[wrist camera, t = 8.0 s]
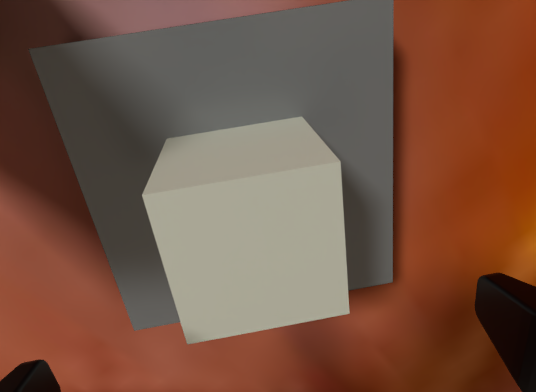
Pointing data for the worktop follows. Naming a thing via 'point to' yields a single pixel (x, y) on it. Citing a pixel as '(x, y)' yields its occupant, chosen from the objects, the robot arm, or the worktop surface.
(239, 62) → the plinth
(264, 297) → the cube
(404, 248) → the worktop surface
